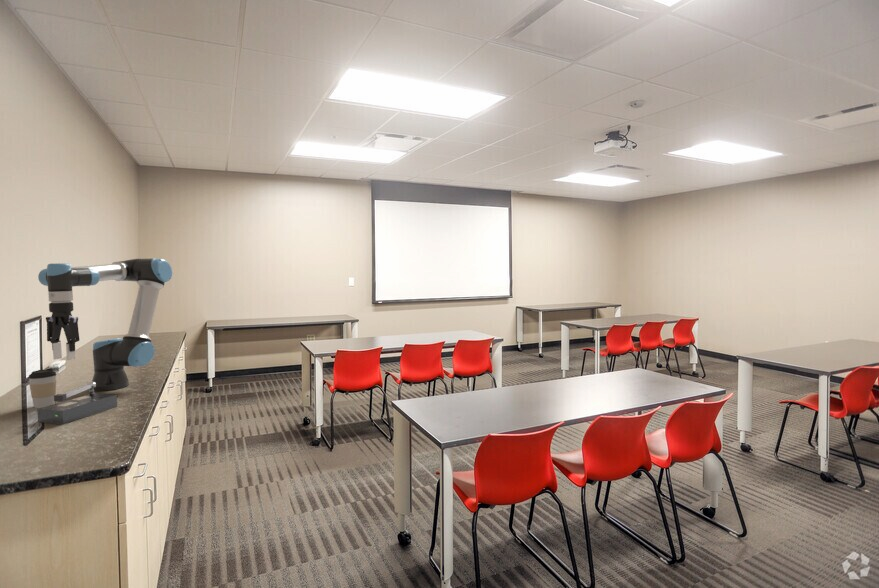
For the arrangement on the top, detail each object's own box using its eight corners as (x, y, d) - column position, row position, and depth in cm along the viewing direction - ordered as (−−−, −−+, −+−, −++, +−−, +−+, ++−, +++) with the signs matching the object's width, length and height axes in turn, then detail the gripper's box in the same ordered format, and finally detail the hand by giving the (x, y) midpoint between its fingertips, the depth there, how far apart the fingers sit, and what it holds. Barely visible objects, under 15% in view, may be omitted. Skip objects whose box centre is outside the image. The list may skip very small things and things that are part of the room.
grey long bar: (89, 386, 192) (89, 381, 192) (97, 386, 193) (97, 381, 193) (54, 401, 171) (53, 395, 171) (62, 401, 172) (62, 395, 172)
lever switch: (94, 404, 194) (93, 386, 193) (117, 406, 191) (116, 387, 191) (36, 422, 172) (35, 401, 171) (62, 424, 169) (60, 403, 169)
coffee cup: (41, 409, 188) (39, 373, 187) (24, 408, 190) (21, 372, 189) (63, 402, 197) (61, 368, 196) (46, 401, 199) (44, 367, 198)
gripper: (32, 302, 183) (36, 360, 184) (70, 302, 178) (73, 361, 180) (52, 301, 190) (55, 356, 191) (89, 301, 186) (92, 358, 187)
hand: (64, 359), depth 186 cm, fingers open, 6 cm apart
